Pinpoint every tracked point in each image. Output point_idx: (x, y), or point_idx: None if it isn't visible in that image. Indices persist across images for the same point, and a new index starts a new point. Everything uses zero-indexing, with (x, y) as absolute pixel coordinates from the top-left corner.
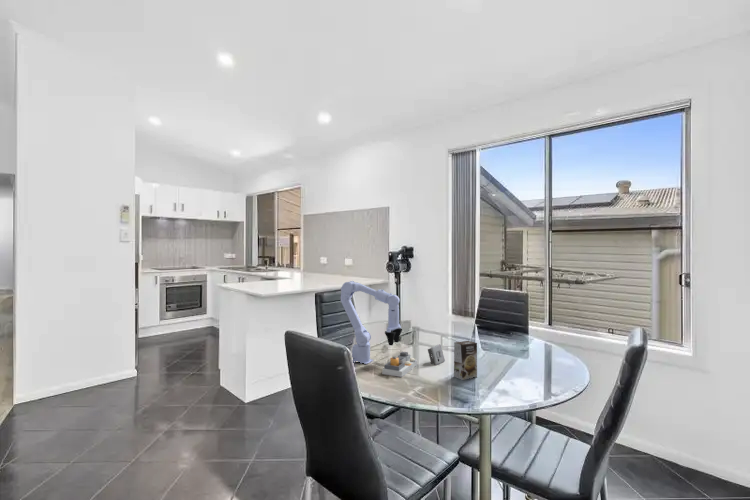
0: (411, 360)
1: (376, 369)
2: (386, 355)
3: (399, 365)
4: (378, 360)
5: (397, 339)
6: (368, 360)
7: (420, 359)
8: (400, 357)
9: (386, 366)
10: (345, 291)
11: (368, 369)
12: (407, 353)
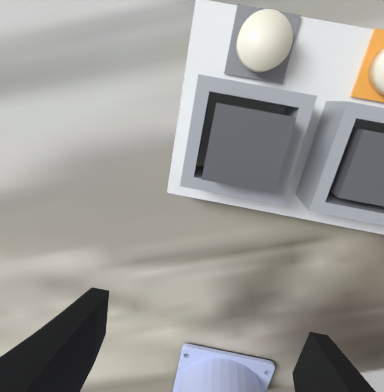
0: (289, 46)
1: (377, 294)
2: (36, 290)
3: None
4: (167, 315)
5: (87, 332)
6: (239, 370)
7: (21, 14)
8: (357, 164)
9: None
10: None
11: (380, 335)
12: (232, 105)
